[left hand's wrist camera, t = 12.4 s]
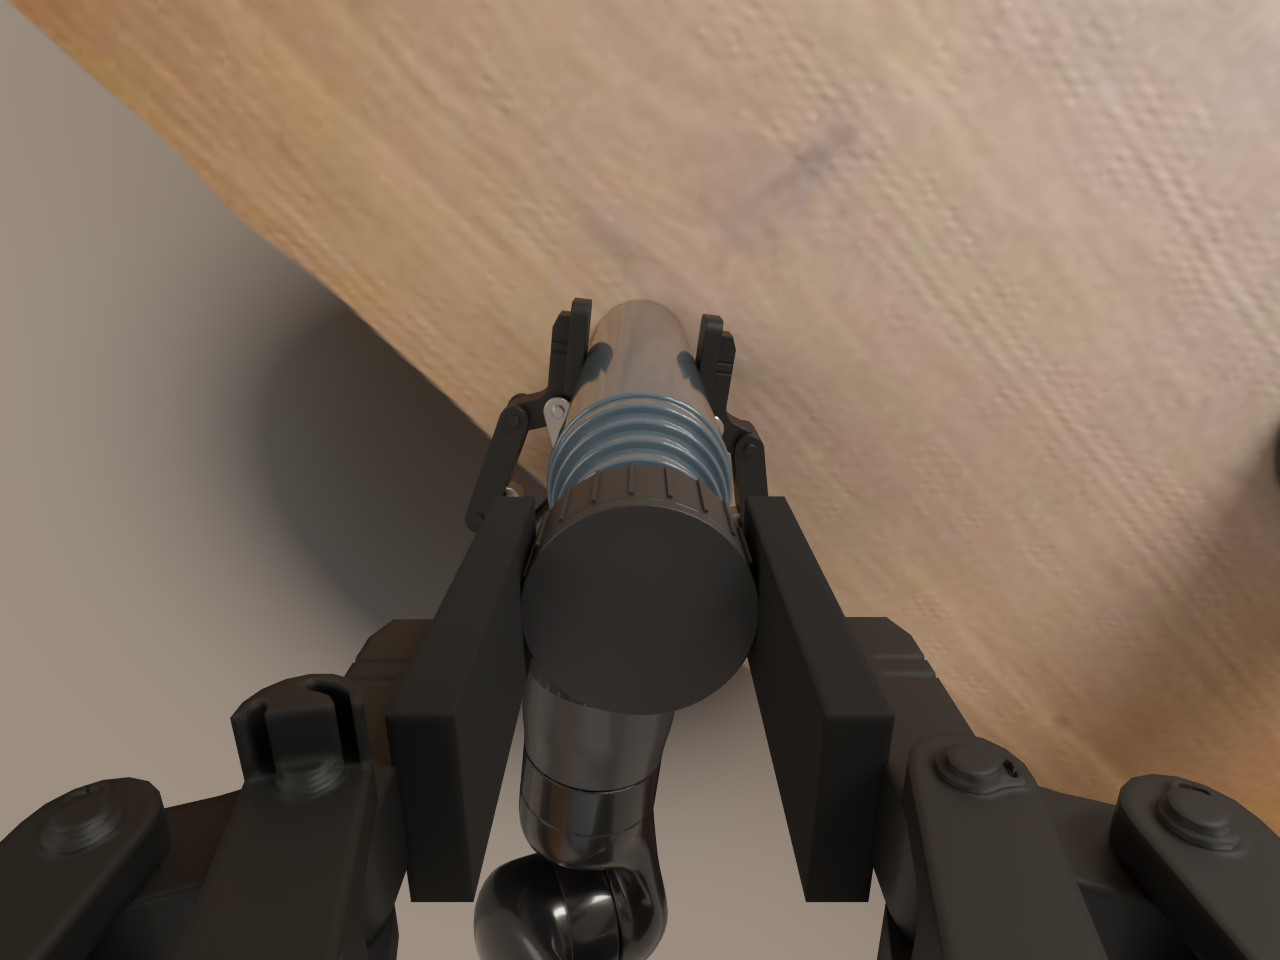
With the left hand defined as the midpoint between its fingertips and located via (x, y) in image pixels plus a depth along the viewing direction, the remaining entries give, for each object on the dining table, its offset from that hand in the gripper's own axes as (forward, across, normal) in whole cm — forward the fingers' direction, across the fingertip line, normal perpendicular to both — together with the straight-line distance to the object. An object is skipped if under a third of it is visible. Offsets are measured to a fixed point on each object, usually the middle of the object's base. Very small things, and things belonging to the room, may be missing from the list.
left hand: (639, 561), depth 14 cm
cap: (-2, 0, 0) cm, 2 cm away
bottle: (+24, 0, 0) cm, 24 cm away
